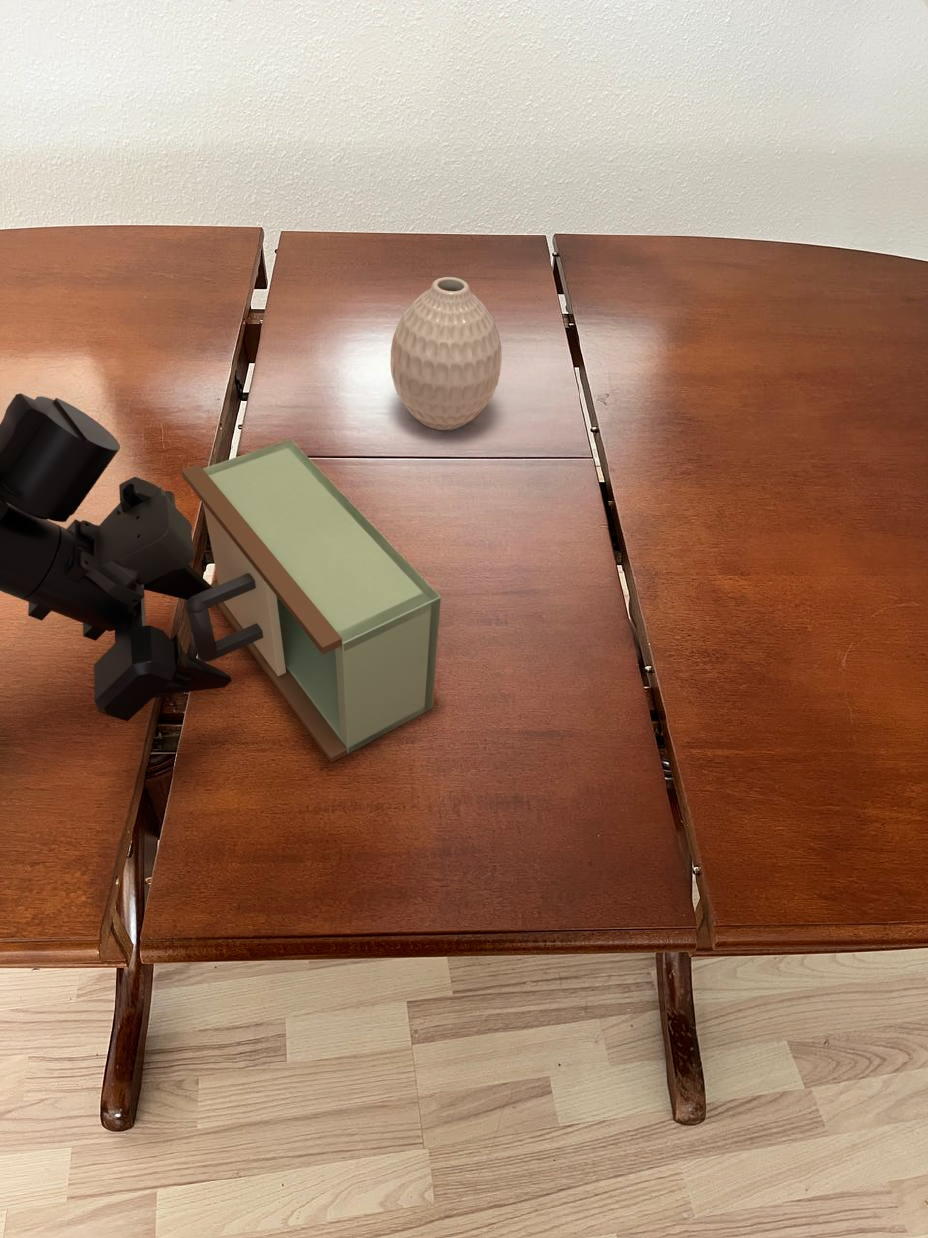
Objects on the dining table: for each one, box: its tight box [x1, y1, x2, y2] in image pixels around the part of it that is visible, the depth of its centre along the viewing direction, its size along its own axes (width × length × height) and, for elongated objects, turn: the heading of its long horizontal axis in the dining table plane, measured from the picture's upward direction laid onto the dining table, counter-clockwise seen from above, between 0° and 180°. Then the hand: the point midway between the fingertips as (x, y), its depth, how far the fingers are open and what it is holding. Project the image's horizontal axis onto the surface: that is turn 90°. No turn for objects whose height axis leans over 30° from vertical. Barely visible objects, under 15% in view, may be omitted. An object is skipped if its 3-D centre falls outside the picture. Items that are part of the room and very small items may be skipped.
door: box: [185, 503, 286, 676], centre depth 72 cm, size 6×11×12 cm, turn 36°
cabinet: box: [180, 438, 442, 764], centre depth 73 cm, size 10×23×15 cm, turn 36°
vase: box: [390, 276, 503, 431], centre depth 99 cm, size 13×13×17 cm
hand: (222, 639), depth 70 cm, fingers open, 9 cm apart
